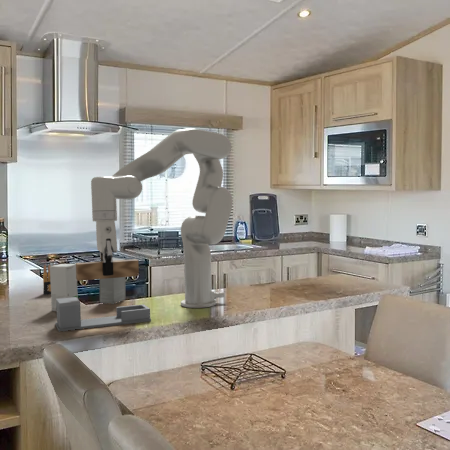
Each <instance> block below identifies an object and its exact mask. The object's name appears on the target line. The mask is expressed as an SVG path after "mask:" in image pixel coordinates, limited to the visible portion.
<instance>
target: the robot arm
mask: <svg viewBox="0 0 450 450" xmlns="http://www.w3.org/2000/svg"><path fill="white" fill-rule="evenodd" d="M231 151H232V143H231V141H230V139H229V137H227V135H224V134H223V133H218V132H214V131H210V130H209V131H208V130H204V129H200V128H199V129H198V128H193V127H190V128H183V129H176V130H174V131H173V132H171V133H170V134H168V135H167V136H166V137H164V138H163V139H162V140H161V141H160V142H159V143H157V144H156V145H155V146H153V147H152V148H151V149H150V150H148V151H147V152H145V153H143V154H142V155H140V156H139V157H136V159H133V161H131V162H129V163H127V164H125V165H124V166H123V167H121V168H120V169H119V170H118V171H116V172H115V173H114V174H112V175H111V176H94V177H93V178H92V179H90V180H91V181H90V185H91V186H90V189H91V211H92V212H91V213H92V214H91V216H92V222H95V224H96V225H95V229H96V231H95V232H96V234H95V235H96V249H97V251H99V258H100V260H99V261H103V263H102V266H103V275H104V276H108V275H113V258H114V257H113V253H117V252H118V241H117V230H116V229H117V228H116V221H118V209H117V200H134V199H136V198H138V197H139V196H140V195H141V194H142V192H143V184H142V182H143V181H145V180H147V179H150V178H154V177H157V176H159V175H161V174H163V173H164V172H166V171H167V170H168V169H170V168H171V167H172V166H173V165H174V164H176V163H177V162H178V161H179V160H181V159H182V158H183V157H184V156H186V155H191V154H192V155H193V156H194V158H195V160H196V162H197V164H198V166H199V175H198V180H197V183H196V186H195V190H194V193H193V197H192V203H191V204H192V208H193V209H194V210H195V211H196V212H198V213H201V214H205V215H191V216H188V217H187V218H185V219H184V220H183V221H182V223H181V226H180V235H181V240H182V246H183V263H184V264H183V265H184V267H183V268H184V299H183V300H181V301H180V306H182V307H184V308H188V309H189V308H190V309H200V308H201V309H203V308H210V307H214V306H215V305H216V304H217V300H216V299H218V298H219V299H222V298H225V295H226V294H225V292H224V291H222V292H221V291H220V292H219V291H216V292H215V291H213V290H212V254H211V249H210V245H216V244H218V243H220V242H221V241H222V240H223V238H224V236H225V234H226V231H227V229H228V228H227V227H228V224H229V220H230V217H231V214H232V213H231V212H232V208H233V196H232V194H231V193H232V192H230V191H229V189H228V188H226V187H224V186H222V183H223V179H224V170H223V166H222V164H221V162H220V160H223V159H225V158H227V157H228V156H229V155H230V154H231Z"/></svg>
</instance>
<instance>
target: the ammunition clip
mask: <svg viewBox="0 0 450 450" xmlns="http://www.w3.org/2000/svg"><path fill="white" fill-rule="evenodd" d="M59 264H60V263H57V265H59ZM66 264H69V262H67V263H66ZM54 265H55V263H53V265H52V266H54ZM47 266H48V267H47ZM50 266H51V264H48V265H46V264H44V265H43V274H42V278H43V279H42V283H43V285H42V286H43V288H42V289H43V293H42V294H43V295H45V296H46V295H51V281H50Z"/></svg>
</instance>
